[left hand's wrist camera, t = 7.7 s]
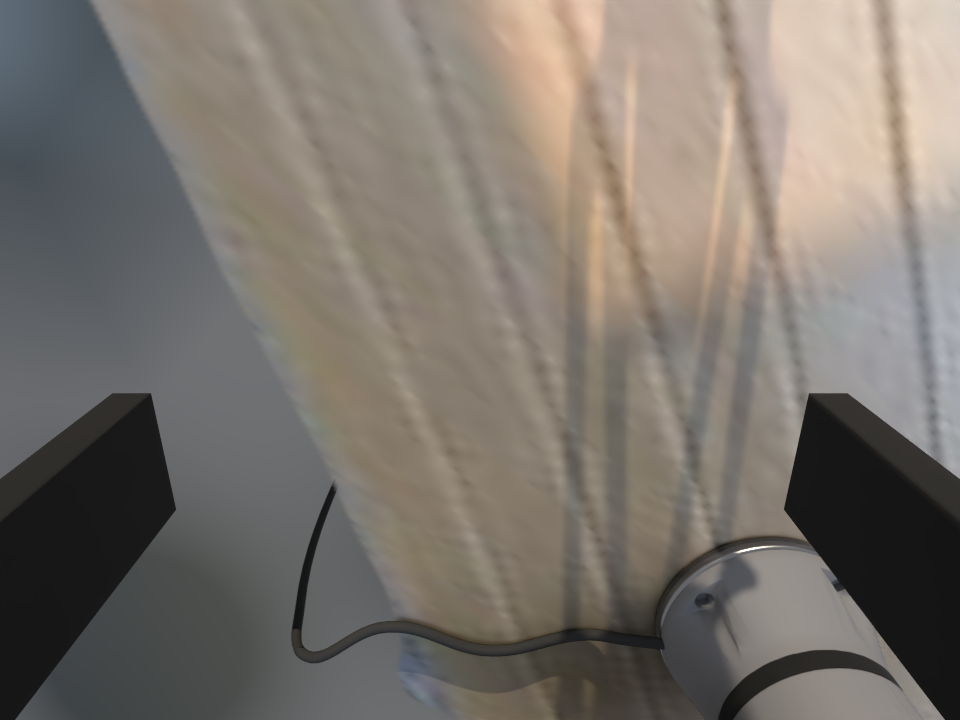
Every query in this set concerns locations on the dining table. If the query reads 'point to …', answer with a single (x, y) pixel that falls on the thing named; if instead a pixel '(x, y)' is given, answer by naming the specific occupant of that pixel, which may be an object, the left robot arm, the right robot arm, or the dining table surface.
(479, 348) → the dining table surface
